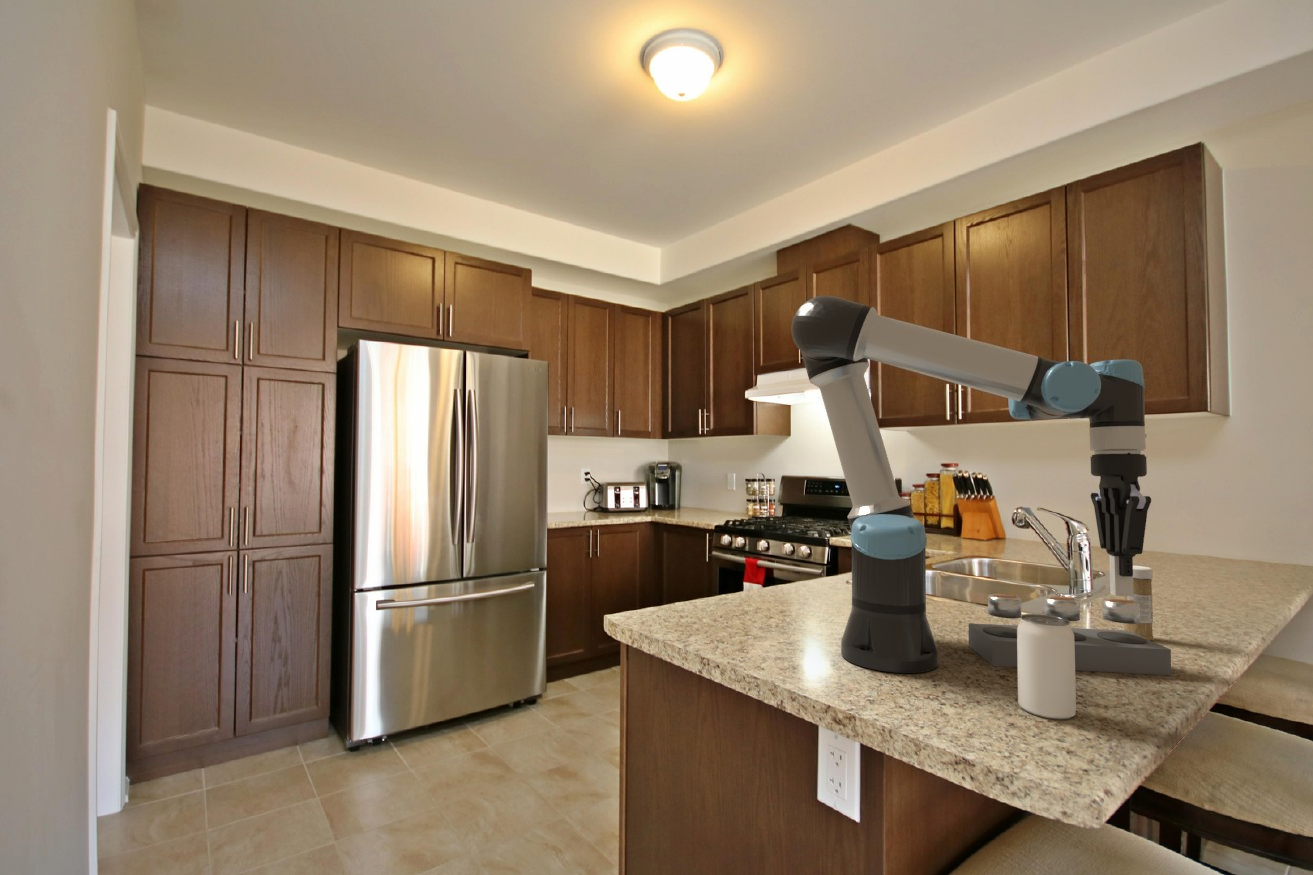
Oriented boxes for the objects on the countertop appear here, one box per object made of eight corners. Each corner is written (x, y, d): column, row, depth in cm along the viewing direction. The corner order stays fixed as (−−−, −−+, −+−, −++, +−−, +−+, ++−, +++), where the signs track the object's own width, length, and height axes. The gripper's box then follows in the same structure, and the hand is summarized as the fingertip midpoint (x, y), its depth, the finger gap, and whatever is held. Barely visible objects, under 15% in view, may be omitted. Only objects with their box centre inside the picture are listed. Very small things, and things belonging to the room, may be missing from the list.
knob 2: (1113, 622, 100) (1112, 602, 100) (1096, 615, 105) (1095, 595, 105) (1147, 624, 100) (1146, 603, 100) (1128, 616, 104) (1128, 597, 105)
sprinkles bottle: (1127, 633, 120) (1125, 563, 121) (1156, 638, 117) (1155, 567, 117) (1120, 637, 117) (1118, 566, 118) (1150, 642, 114) (1148, 569, 114)
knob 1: (994, 617, 103) (994, 597, 103) (983, 610, 108) (983, 591, 108) (1026, 619, 102) (1026, 598, 102) (1014, 611, 107) (1013, 592, 107)
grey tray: (992, 665, 100) (992, 639, 100) (968, 645, 111) (968, 622, 111) (1171, 675, 96) (1170, 648, 96) (1128, 653, 107) (1128, 629, 107)
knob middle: (1053, 620, 102) (1052, 600, 102) (1039, 613, 107) (1038, 593, 107) (1086, 621, 101) (1085, 601, 101) (1070, 614, 106) (1070, 594, 106)
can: (1077, 724, 77) (1075, 627, 78) (1017, 713, 81) (1015, 620, 81) (1074, 707, 83) (1073, 617, 83) (1018, 697, 86) (1017, 610, 87)
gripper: (1168, 452, 97) (1173, 604, 96) (1119, 453, 109) (1123, 588, 108) (1115, 452, 98) (1120, 602, 97) (1073, 453, 111) (1076, 586, 110)
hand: (1121, 594), depth 103 cm, fingers closed
